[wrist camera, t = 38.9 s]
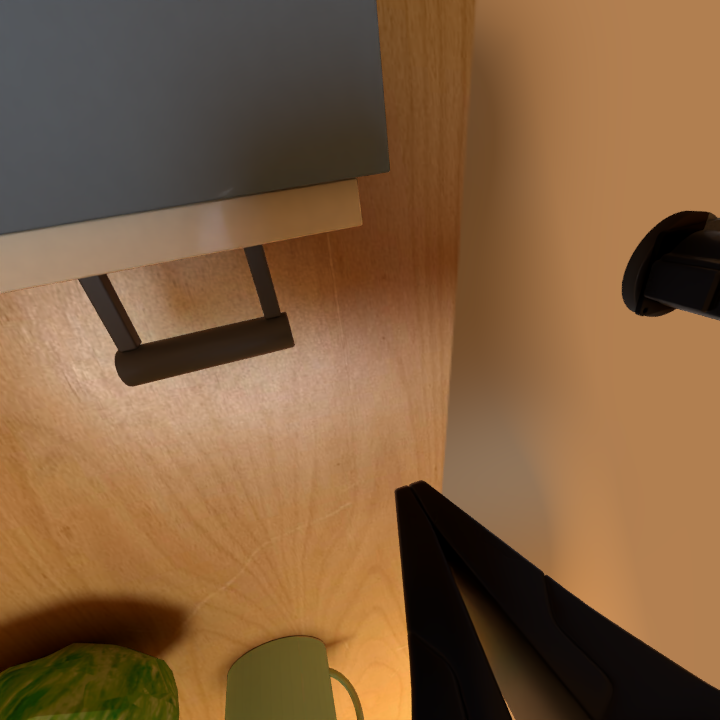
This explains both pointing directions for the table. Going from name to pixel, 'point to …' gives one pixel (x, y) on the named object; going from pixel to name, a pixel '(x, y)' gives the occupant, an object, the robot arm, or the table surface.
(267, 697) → the mug
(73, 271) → the drawer
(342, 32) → the cabinet
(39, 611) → the table surface
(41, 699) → the lettuce
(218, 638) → the table surface
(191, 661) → the table surface
